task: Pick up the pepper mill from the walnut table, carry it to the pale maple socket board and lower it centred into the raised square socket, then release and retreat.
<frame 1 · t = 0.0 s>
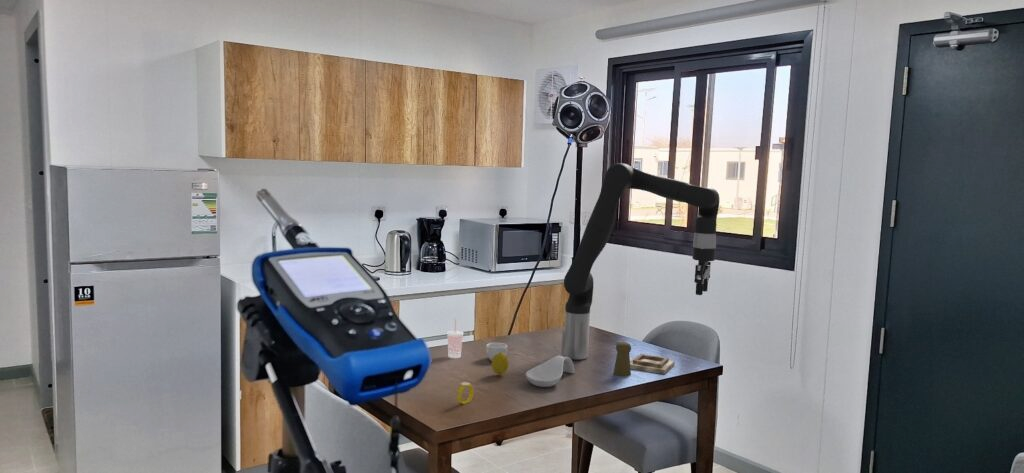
hand: (701, 293, 241), 29 cm above the table, tool pointing down, fingers open, 8 cm apart
socket board: (650, 366, 254), on the table
pepper mill: (622, 374, 243), on the table
lemon: (499, 376, 236), on the table
teacup: (498, 359, 256), on the table
beverage cup: (454, 357, 258), on the table
spoon rest: (551, 381, 233), on the table
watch: (465, 403, 207), on the table
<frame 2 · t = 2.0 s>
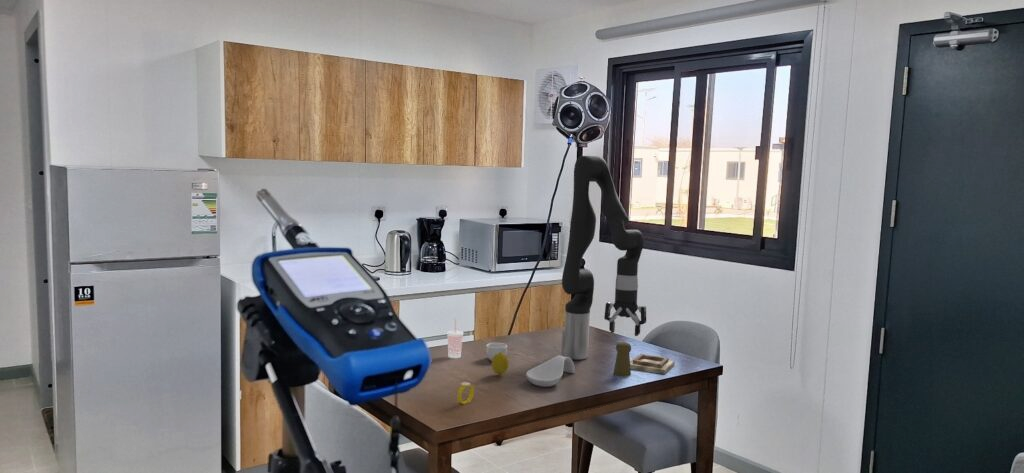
hand: (624, 334, 241), 14 cm above the table, tool pointing down, fingers open, 8 cm apart
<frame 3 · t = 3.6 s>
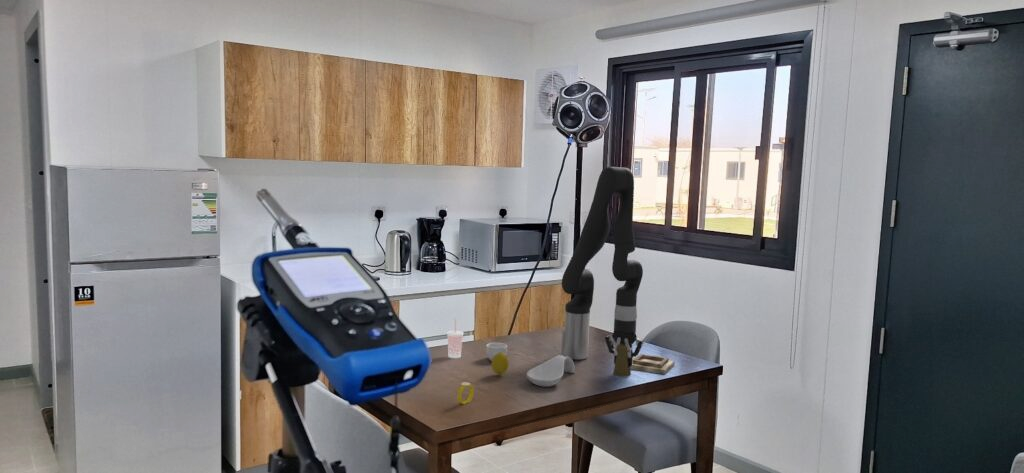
hand: (623, 366, 243), 3 cm above the table, tool pointing down, fingers closed on pepper mill, 3 cm apart
pepper mill: (622, 374, 243), on the table, touching gripper
everything else where it was.
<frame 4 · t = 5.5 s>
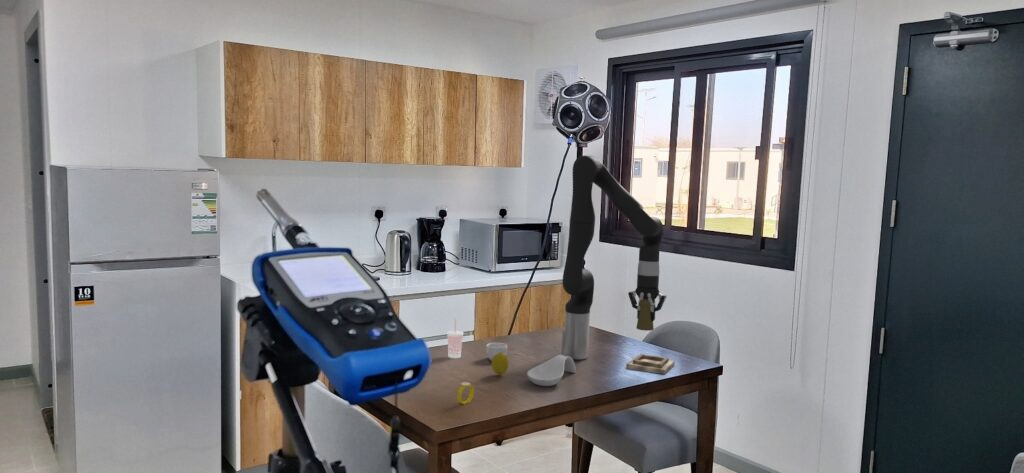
hand: (645, 321, 249), 17 cm above the table, tool pointing down, fingers closed on pepper mill, 3 cm apart
pepper mill: (644, 329, 249), point 14 cm above the table, touching gripper
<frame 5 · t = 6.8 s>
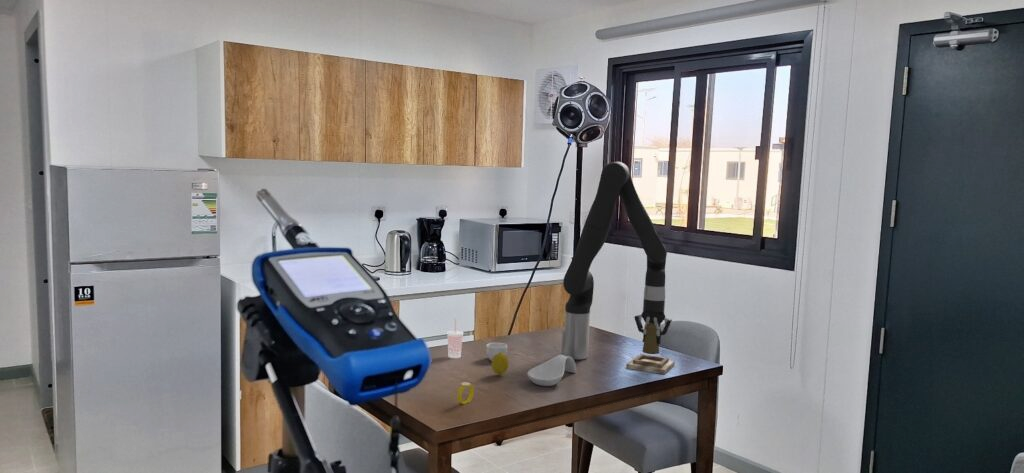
hand: (651, 344, 253), 8 cm above the table, tool pointing down, fingers closed on pepper mill, 3 cm apart
pepper mill: (650, 352, 253), point 5 cm above the table, touching gripper
when the fingers open (5 cm above the table, at t = 7.6 s): pepper mill moves 1 cm, resting on socket board.
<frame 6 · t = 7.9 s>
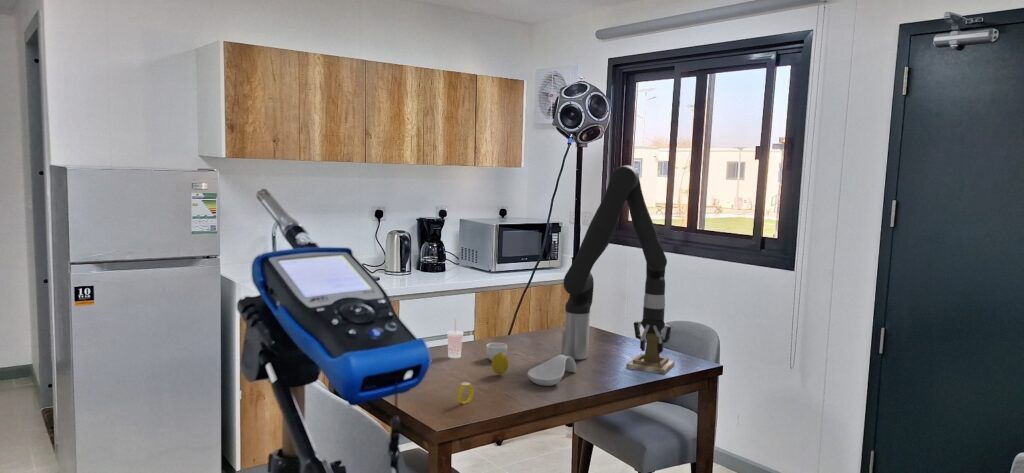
hand: (651, 351, 253), 5 cm above the table, tool pointing down, fingers open, 5 cm apart
pepper mill: (651, 363, 253), point 1 cm above the table, touching socket board
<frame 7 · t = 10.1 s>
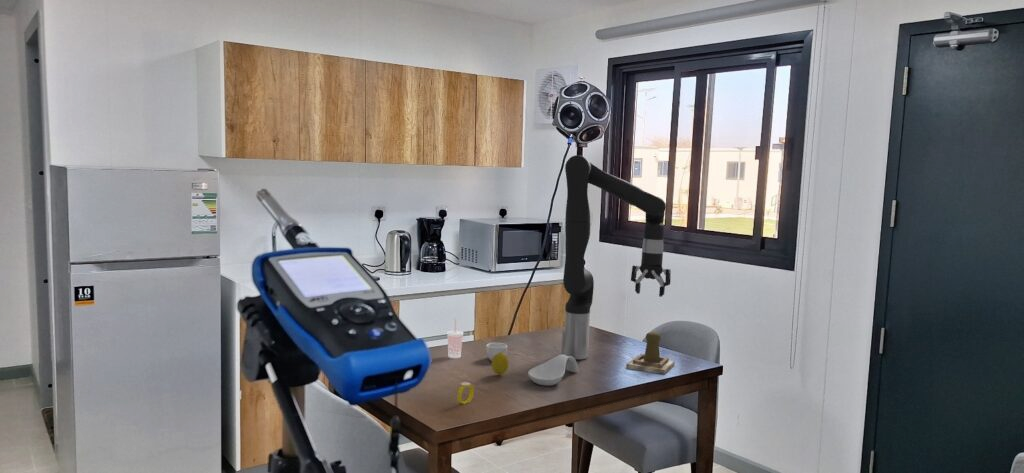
hand: (649, 294, 257), 25 cm above the table, tool pointing down, fingers open, 8 cm apart
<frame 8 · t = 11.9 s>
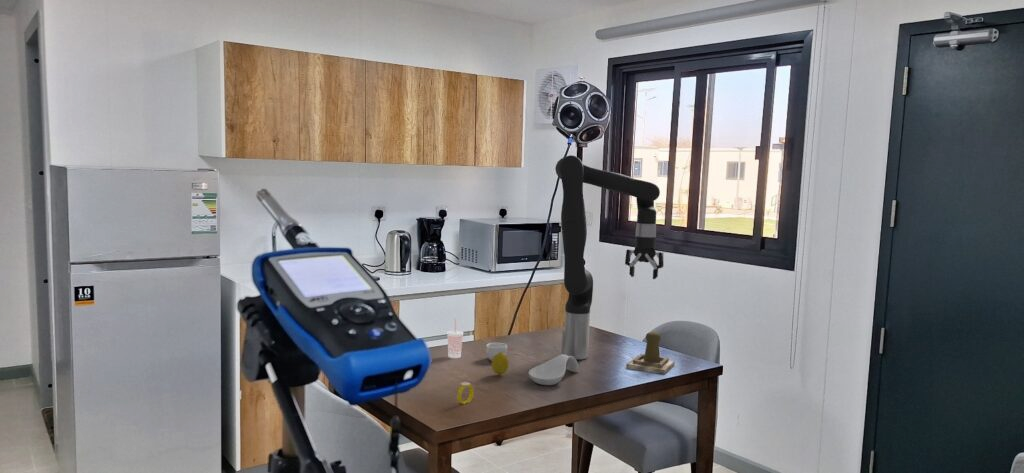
hand: (643, 277, 266), 30 cm above the table, tool pointing down, fingers open, 8 cm apart
at the end: pepper mill 0.4 cm from the socket board (horizontally); pepper mill tilted 0°; the gripper is holding nothing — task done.
